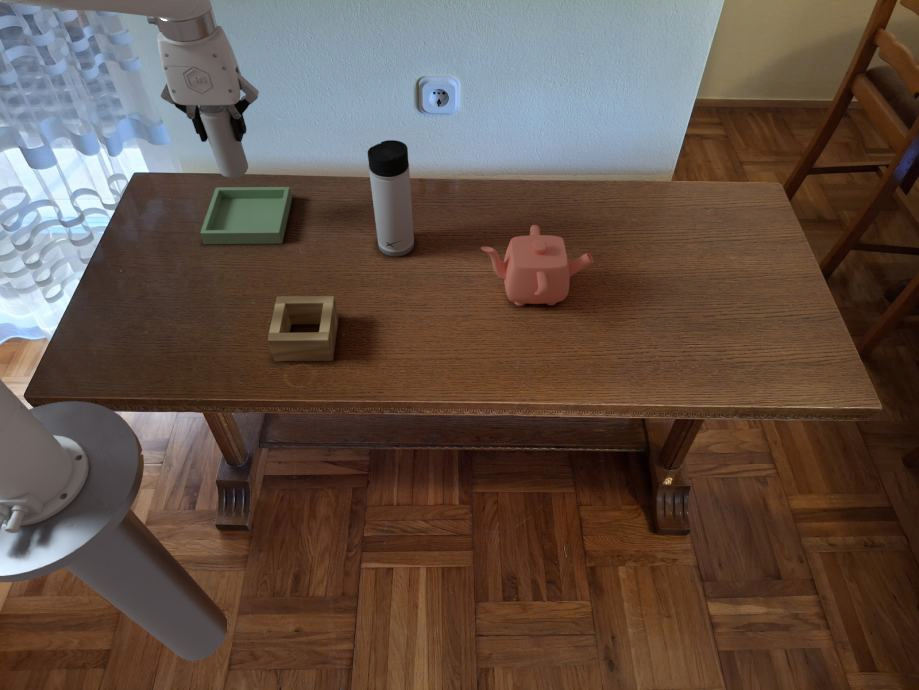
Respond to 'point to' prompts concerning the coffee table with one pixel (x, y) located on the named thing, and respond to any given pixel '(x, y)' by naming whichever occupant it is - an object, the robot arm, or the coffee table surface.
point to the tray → (247, 215)
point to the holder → (303, 344)
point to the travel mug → (391, 197)
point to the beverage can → (223, 140)
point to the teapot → (536, 268)
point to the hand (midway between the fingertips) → (223, 135)
